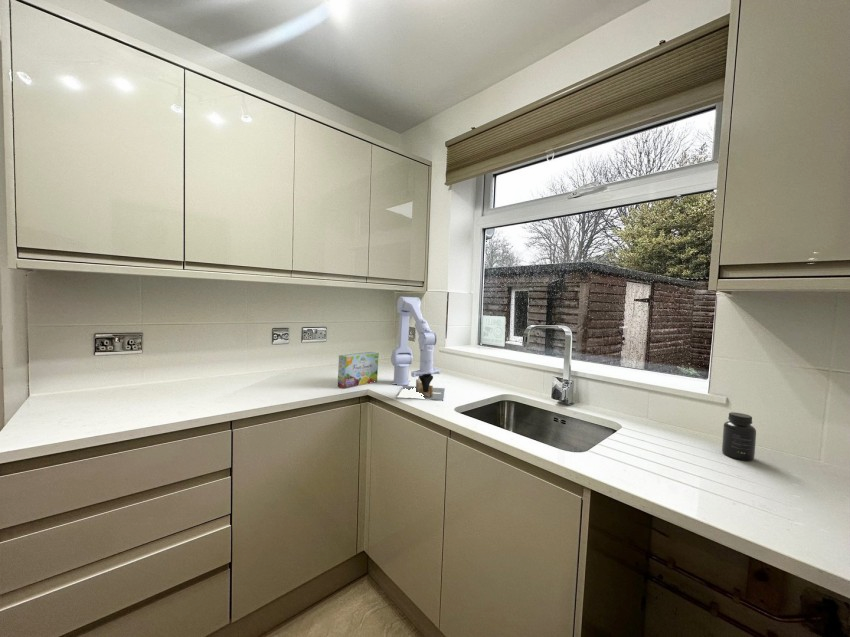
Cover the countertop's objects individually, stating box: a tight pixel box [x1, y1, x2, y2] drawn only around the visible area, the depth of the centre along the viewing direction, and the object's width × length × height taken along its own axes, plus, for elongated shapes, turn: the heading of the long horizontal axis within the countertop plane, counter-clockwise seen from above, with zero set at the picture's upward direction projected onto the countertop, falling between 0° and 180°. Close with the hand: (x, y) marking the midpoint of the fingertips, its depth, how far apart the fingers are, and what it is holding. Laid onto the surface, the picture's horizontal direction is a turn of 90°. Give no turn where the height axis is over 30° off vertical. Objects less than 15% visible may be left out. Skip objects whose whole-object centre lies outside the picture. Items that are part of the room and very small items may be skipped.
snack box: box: [337, 351, 380, 389], centre depth 164 cm, size 21×6×15 cm, turn 143°
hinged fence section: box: [418, 382, 434, 397], centre depth 147 cm, size 10×1×4 cm, turn 37°
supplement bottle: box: [721, 411, 757, 462], centre depth 96 cm, size 7×7×12 cm
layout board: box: [402, 377, 445, 402], centre depth 152 cm, size 20×20×6 cm
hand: (425, 391), depth 145 cm, fingers closed
